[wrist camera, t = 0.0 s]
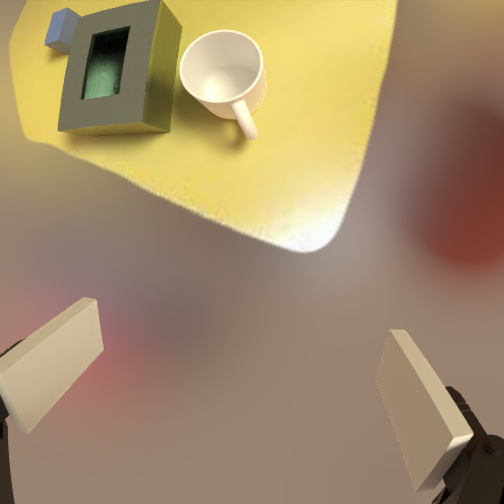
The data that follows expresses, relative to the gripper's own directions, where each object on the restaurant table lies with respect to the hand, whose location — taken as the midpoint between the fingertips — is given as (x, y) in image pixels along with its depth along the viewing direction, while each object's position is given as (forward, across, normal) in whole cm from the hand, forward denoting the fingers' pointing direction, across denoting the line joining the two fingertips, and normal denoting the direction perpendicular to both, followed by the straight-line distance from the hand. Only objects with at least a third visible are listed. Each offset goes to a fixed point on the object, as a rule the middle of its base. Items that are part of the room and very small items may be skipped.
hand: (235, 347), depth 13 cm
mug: (+28, -4, +16) cm, 33 cm away
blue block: (+28, -32, +30) cm, 52 cm away
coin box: (+28, -19, +20) cm, 40 cm away
